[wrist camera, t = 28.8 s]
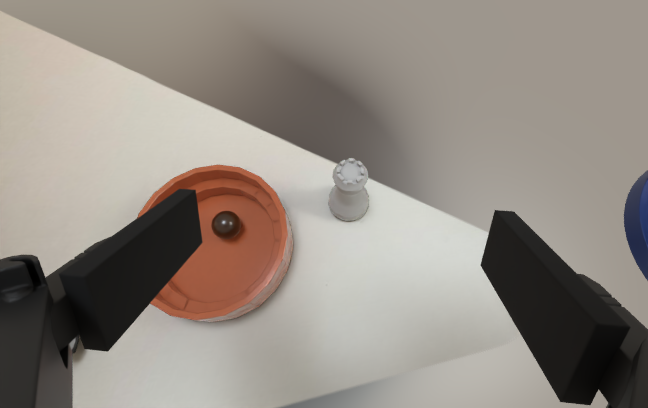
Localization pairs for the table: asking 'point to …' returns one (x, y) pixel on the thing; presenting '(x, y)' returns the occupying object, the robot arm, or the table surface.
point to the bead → (226, 224)
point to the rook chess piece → (349, 190)
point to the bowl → (228, 246)
